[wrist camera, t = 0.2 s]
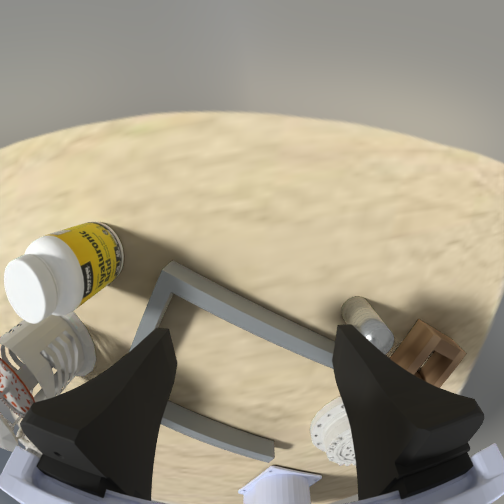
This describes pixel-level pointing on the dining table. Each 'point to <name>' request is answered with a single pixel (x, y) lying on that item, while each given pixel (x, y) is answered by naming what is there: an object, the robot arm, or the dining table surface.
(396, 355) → the hollow wooden square
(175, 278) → the grey u-shaped bracket
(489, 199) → the dining table surface
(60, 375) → the french press
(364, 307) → the pin
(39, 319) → the supplement bottle
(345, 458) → the mechanical component
